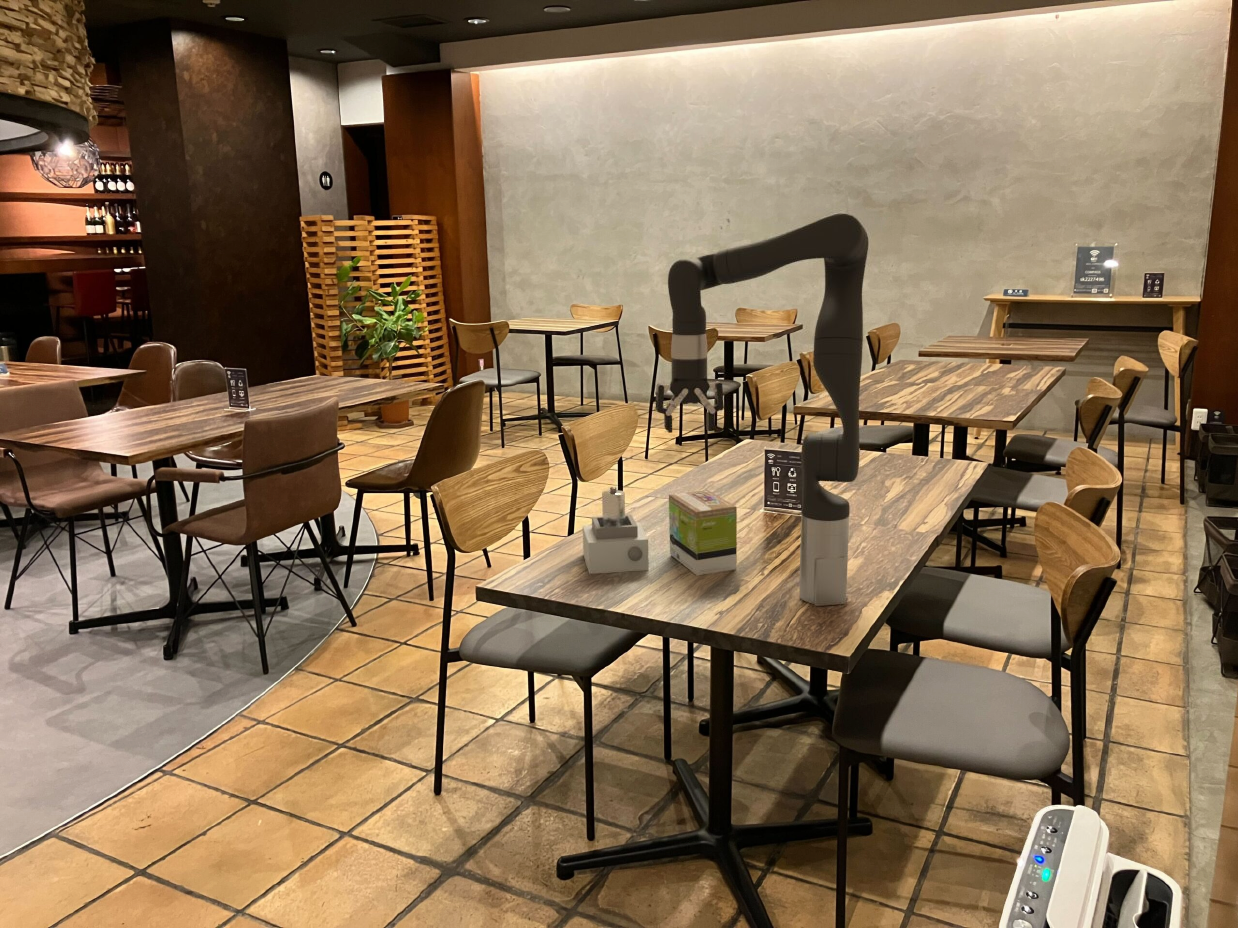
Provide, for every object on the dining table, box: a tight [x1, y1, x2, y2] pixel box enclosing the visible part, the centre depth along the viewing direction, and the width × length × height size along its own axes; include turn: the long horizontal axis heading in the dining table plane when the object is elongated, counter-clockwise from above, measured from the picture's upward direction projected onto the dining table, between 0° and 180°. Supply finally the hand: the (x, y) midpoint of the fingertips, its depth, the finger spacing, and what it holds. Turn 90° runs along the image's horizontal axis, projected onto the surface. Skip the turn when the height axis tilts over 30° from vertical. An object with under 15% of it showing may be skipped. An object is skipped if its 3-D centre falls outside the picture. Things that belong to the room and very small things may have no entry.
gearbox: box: [582, 514, 650, 575], centre depth 216 cm, size 14×13×10 cm
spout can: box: [601, 486, 626, 527], centre depth 215 cm, size 5×5×10 cm
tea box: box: [668, 489, 738, 576], centre depth 214 cm, size 15×10×15 cm, turn 21°
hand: (689, 431), depth 208 cm, fingers open, 8 cm apart
